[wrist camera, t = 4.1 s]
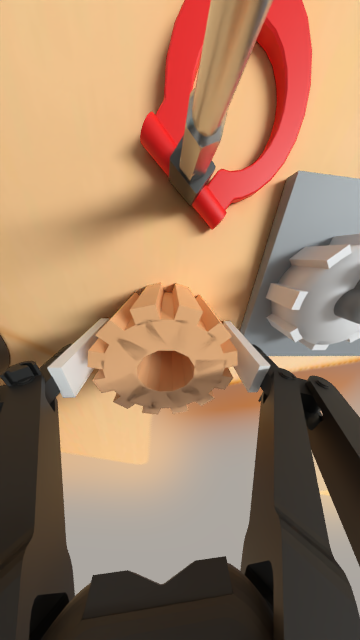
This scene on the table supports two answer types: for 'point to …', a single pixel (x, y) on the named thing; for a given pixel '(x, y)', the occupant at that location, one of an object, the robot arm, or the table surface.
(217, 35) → the tow hook
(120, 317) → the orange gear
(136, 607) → the robot arm
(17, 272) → the table surface
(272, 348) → the gear board
